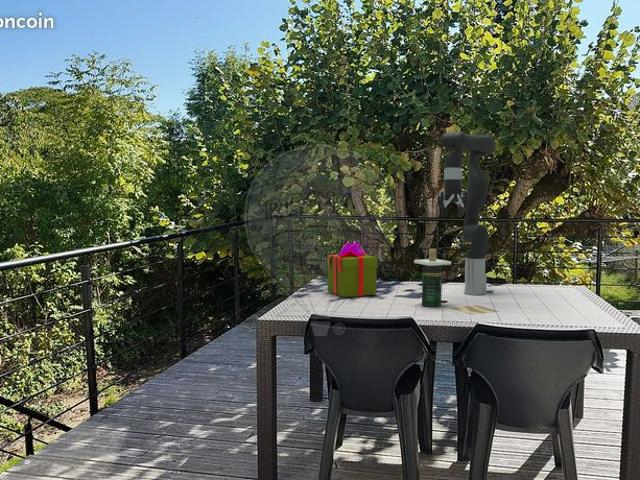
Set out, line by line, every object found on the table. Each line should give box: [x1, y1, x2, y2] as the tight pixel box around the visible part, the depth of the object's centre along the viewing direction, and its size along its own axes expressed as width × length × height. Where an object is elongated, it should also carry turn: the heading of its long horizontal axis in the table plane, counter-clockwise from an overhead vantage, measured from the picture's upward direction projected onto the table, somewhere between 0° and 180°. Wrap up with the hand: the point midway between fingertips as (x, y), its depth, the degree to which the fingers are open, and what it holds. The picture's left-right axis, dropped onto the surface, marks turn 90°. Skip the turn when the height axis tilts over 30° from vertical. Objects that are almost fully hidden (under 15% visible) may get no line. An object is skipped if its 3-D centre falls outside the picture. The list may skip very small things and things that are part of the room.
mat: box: [450, 304, 500, 315], centre depth 233 cm, size 14×14×1 cm
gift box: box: [326, 241, 378, 298], centre depth 273 cm, size 21×21×25 cm
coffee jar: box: [421, 265, 443, 309], centre depth 242 cm, size 10×8×19 cm
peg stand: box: [413, 248, 452, 266], centre depth 241 cm, size 11×11×6 cm
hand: (452, 216), depth 249 cm, fingers open, 8 cm apart
